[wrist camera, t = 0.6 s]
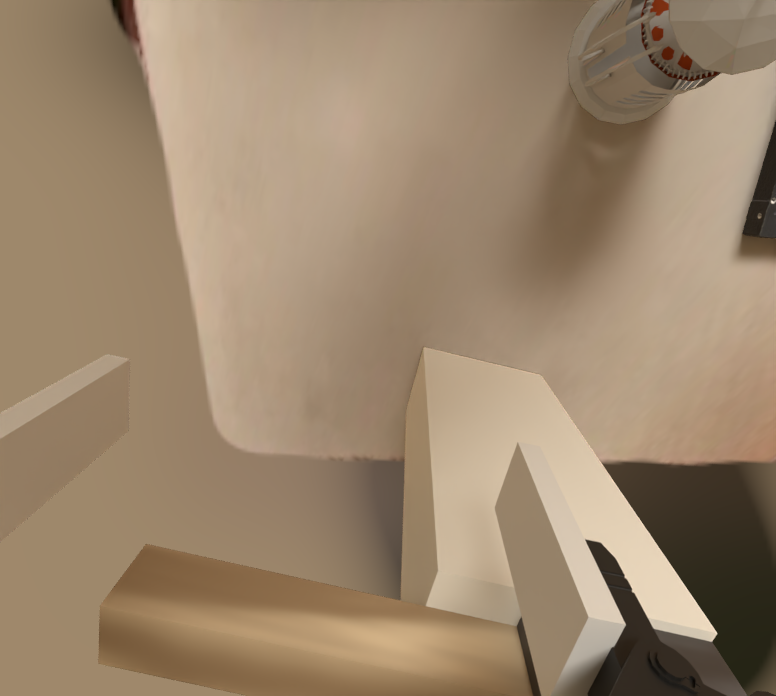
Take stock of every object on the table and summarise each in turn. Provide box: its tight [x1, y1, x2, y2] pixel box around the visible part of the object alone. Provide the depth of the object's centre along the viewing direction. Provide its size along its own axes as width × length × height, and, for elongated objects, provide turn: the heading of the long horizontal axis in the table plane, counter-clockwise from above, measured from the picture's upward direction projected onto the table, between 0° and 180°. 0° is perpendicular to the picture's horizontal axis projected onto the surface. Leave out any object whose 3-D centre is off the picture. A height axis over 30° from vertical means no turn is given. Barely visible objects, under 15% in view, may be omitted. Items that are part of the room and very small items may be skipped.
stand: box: [401, 347, 717, 642], centre depth 33 cm, size 7×12×28 cm, turn 77°
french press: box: [568, 0, 776, 125], centre depth 25 cm, size 10×12×25 cm
